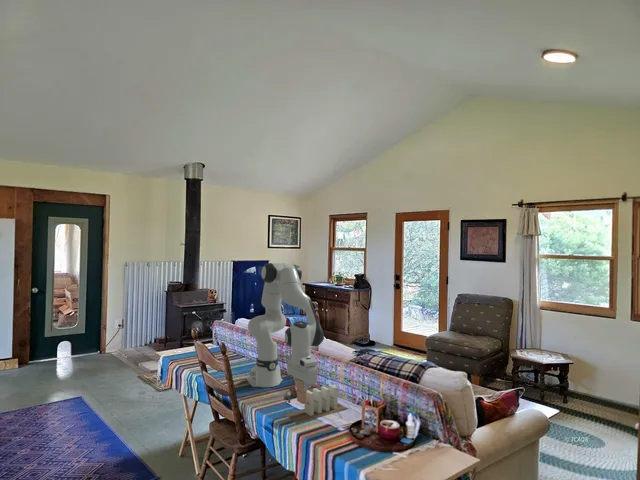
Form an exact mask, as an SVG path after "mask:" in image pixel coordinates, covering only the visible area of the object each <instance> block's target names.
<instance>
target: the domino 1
mask: <svg viewBox="0 0 640 480" xmlns="http://www.w3.org/2000/svg"><path fill="white" fill-rule="evenodd" d="M303 386H304V381H302V380H300V379H297V398H296V401H297V402H299V403H300V404H302V405H305V404H306V391H304V390H303Z"/></svg>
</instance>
